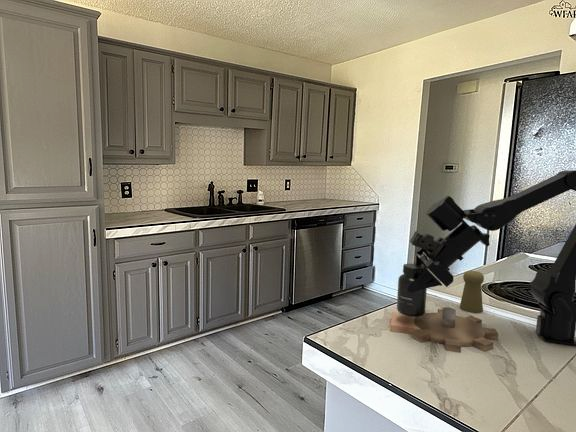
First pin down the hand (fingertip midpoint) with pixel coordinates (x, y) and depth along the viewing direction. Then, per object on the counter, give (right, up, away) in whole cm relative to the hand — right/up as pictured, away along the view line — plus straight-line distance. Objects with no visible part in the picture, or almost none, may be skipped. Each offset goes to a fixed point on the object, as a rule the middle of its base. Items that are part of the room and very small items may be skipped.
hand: (406, 286), depth 92 cm
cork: (+23, -9, +13) cm, 28 cm away
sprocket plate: (+8, -11, -1) cm, 13 cm away
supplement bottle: (+1, -7, +1) cm, 7 cm away
